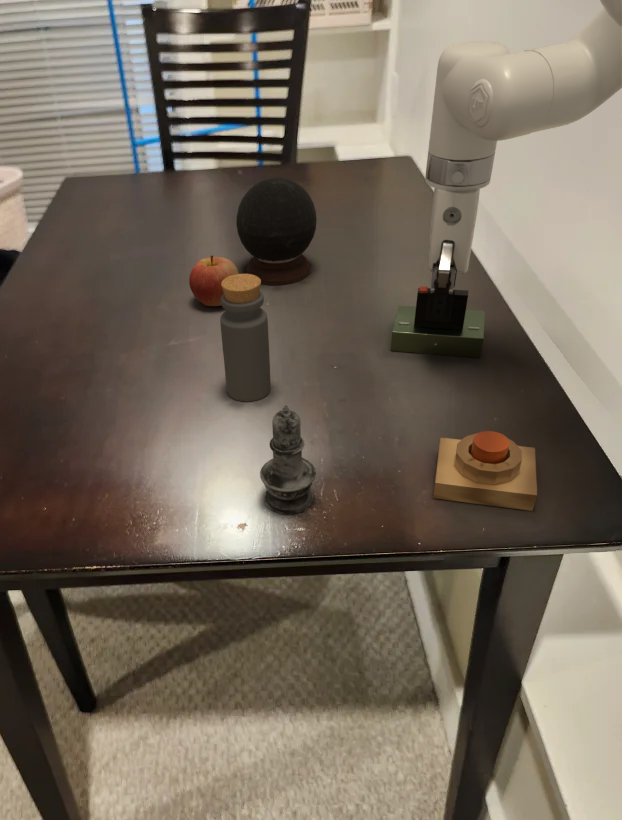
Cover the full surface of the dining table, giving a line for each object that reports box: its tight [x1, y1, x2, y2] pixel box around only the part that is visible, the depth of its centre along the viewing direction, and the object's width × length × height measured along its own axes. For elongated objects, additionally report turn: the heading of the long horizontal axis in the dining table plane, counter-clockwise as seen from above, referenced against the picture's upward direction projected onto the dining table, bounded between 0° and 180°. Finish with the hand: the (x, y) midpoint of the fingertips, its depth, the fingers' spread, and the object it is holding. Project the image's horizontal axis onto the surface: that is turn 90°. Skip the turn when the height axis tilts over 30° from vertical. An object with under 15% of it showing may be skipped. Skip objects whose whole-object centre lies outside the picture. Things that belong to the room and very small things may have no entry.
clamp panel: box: [390, 305, 486, 359], centre depth 95 cm, size 12×11×3 cm
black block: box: [414, 286, 469, 330], centre depth 93 cm, size 6×2×5 cm, turn 74°
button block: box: [432, 432, 538, 512], centre depth 73 cm, size 10×8×4 cm
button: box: [471, 430, 510, 464], centre depth 72 cm, size 4×4×2 cm
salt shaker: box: [259, 404, 317, 516], centre depth 70 cm, size 6×6×12 cm
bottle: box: [219, 273, 272, 402], centre depth 86 cm, size 6×6×15 cm
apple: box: [188, 254, 240, 307], centre depth 108 cm, size 8×8×8 cm
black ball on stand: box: [236, 177, 318, 286], centre depth 113 cm, size 13×13×15 cm
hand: (440, 303), depth 92 cm, fingers open, 9 cm apart
